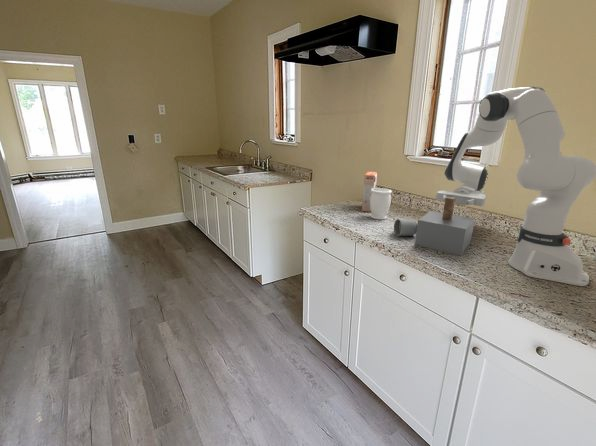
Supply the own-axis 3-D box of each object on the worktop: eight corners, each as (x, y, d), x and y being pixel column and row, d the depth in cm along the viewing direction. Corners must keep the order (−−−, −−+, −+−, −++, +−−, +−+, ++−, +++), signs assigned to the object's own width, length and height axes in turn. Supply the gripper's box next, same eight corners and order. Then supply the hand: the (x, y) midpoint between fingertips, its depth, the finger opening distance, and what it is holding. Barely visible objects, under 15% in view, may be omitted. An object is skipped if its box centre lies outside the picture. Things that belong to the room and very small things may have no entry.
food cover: (470, 242, 136) (479, 197, 130) (460, 255, 123) (470, 205, 116) (427, 233, 146) (434, 191, 140) (414, 244, 133) (421, 198, 127)
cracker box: (372, 212, 178) (375, 175, 172) (361, 211, 180) (364, 174, 174) (374, 206, 191) (377, 171, 184) (364, 205, 193) (367, 171, 186)
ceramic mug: (417, 237, 141) (419, 221, 139) (400, 238, 140) (401, 221, 137) (406, 230, 151) (407, 214, 149) (389, 230, 150) (391, 215, 147)
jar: (364, 216, 170) (366, 189, 166) (376, 213, 177) (379, 186, 172) (381, 221, 162) (384, 192, 158) (392, 218, 169) (396, 190, 164)
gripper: (440, 186, 154) (432, 190, 144) (488, 192, 142) (483, 197, 132) (438, 198, 156) (430, 204, 146) (486, 205, 144) (480, 212, 134)
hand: (456, 201), depth 139 cm, fingers open, 8 cm apart
